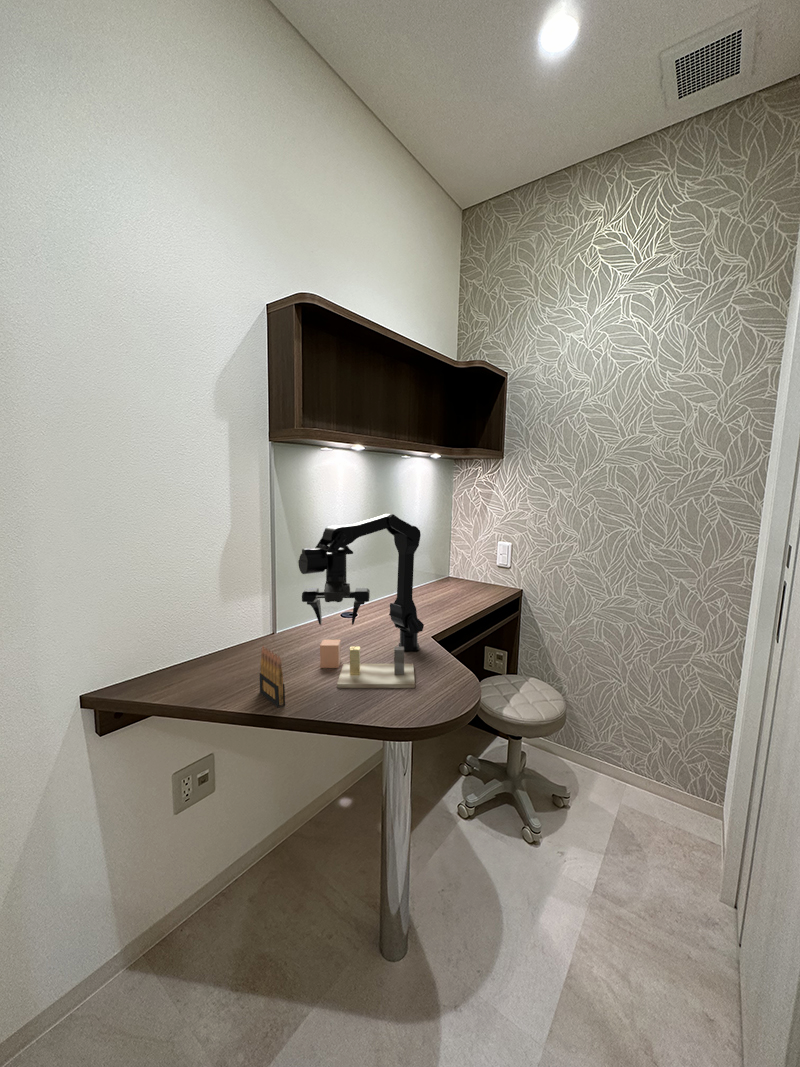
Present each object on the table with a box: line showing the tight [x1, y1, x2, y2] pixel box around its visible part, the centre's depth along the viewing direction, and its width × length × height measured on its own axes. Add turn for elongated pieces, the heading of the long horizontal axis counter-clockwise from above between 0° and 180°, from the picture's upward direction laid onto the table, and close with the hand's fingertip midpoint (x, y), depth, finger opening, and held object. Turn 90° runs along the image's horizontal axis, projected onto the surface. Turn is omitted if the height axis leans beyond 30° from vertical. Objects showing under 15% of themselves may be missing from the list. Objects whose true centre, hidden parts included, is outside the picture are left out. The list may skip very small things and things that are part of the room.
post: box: [349, 646, 361, 675], centre depth 124 cm, size 3×3×7 cm
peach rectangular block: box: [319, 639, 342, 669], centre depth 133 cm, size 5×5×7 cm
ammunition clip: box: [259, 645, 286, 708], centre depth 111 cm, size 11×2×12 cm, turn 40°
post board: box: [336, 646, 416, 689], centre depth 124 cm, size 14×20×8 cm
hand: (336, 624), depth 130 cm, fingers open, 9 cm apart
